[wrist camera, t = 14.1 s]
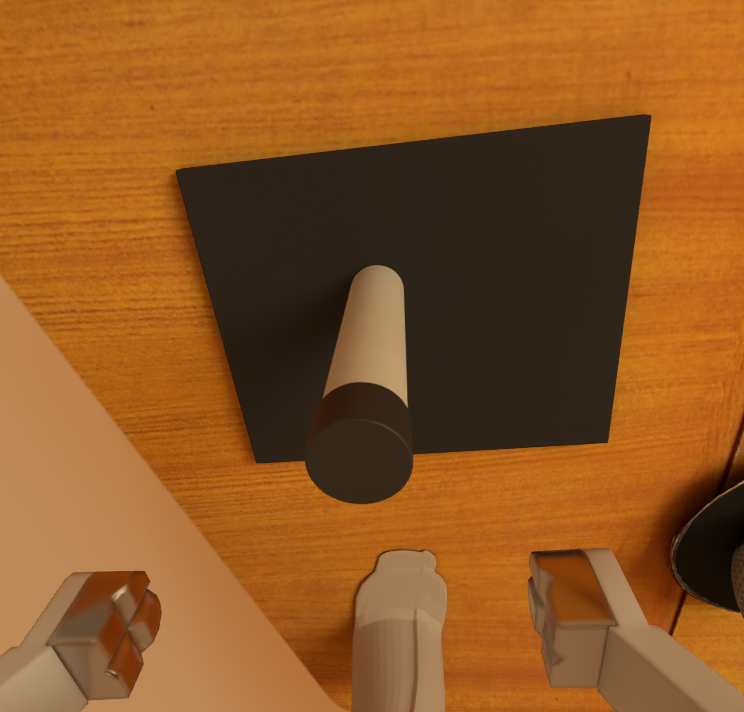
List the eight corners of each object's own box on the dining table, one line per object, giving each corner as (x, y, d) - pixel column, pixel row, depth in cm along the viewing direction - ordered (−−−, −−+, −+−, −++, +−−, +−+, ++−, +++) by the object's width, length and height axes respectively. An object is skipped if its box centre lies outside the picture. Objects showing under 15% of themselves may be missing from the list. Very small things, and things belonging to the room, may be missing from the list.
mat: (259, 456, 32) (256, 464, 32) (181, 168, 24) (174, 170, 24) (603, 435, 30) (608, 443, 30) (644, 114, 22) (652, 114, 22)
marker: (352, 319, 27) (313, 507, 14) (345, 265, 25) (295, 423, 13) (407, 314, 26) (417, 502, 14) (403, 260, 25) (408, 415, 13)
